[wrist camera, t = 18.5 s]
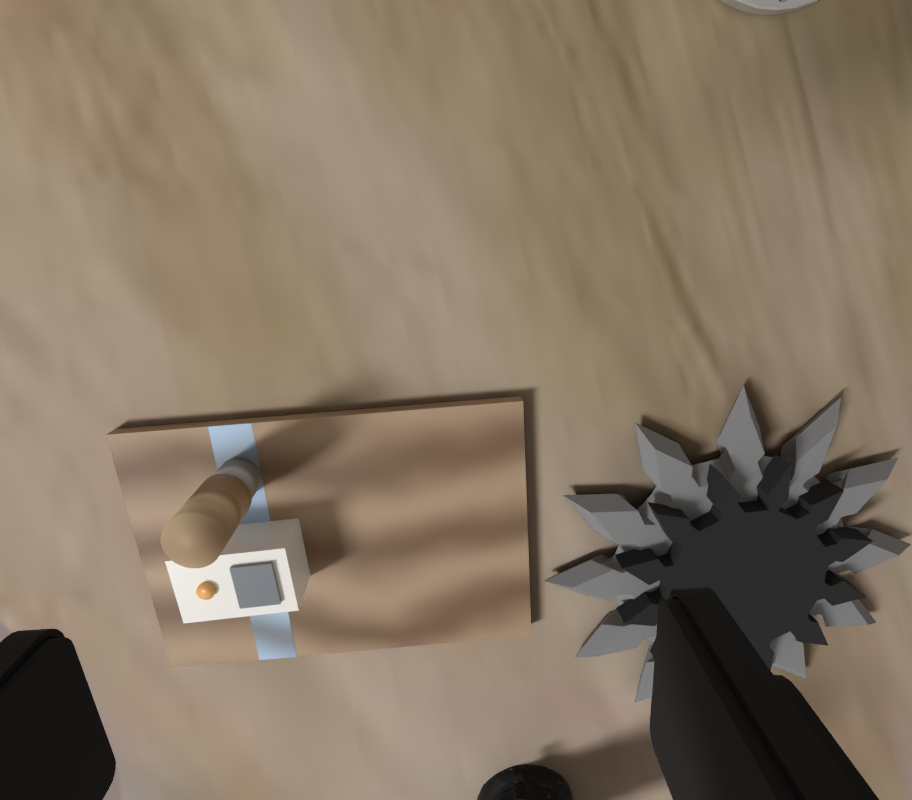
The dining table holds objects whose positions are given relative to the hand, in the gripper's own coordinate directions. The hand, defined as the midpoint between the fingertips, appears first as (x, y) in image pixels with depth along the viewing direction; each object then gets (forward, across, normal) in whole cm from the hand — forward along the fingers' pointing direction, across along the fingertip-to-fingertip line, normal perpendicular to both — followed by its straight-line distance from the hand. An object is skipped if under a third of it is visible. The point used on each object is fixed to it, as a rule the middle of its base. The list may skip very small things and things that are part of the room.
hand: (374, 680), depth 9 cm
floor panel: (+30, +8, +16) cm, 35 cm away
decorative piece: (+31, -22, +21) cm, 44 cm away
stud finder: (+28, +14, +16) cm, 36 cm away
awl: (+29, +14, +10) cm, 34 cm away
